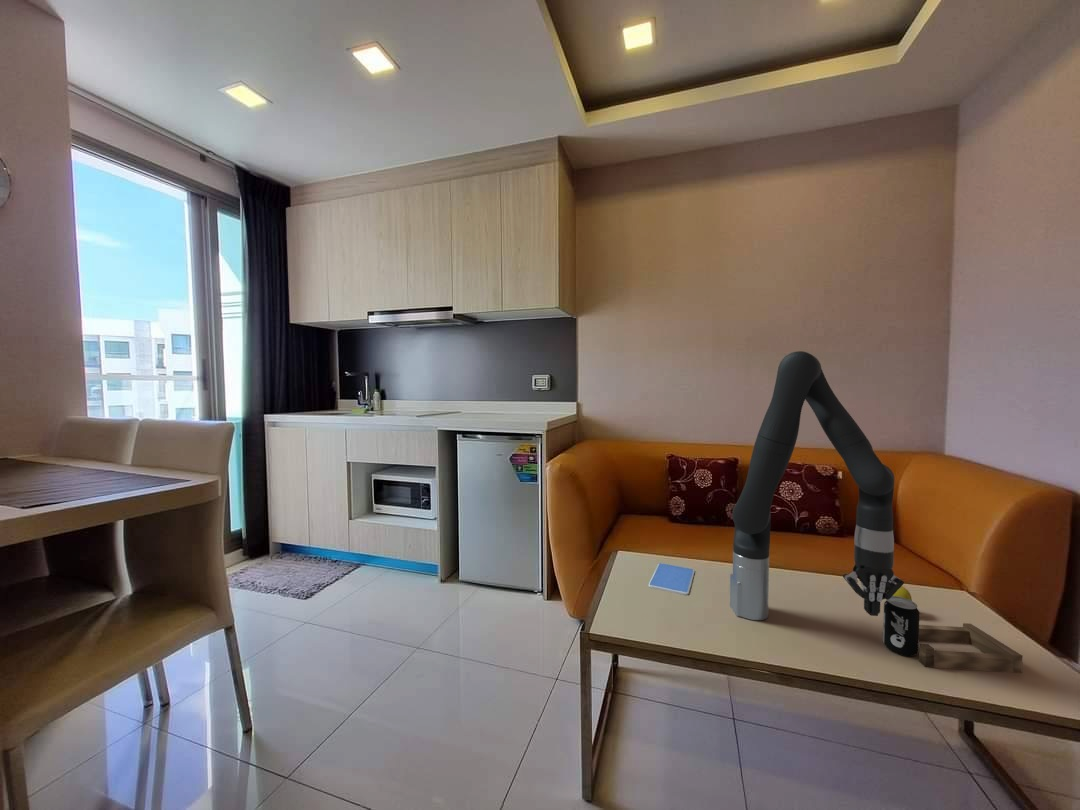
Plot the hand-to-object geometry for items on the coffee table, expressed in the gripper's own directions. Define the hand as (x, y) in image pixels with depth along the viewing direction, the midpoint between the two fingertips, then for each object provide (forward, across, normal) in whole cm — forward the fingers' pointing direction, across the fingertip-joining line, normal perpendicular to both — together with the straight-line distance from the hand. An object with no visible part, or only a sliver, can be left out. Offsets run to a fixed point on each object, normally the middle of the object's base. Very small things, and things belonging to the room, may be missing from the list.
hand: (872, 614), depth 102 cm
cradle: (+9, +17, 0) cm, 19 cm away
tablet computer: (+9, -41, +33) cm, 54 cm away
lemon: (+9, +19, +18) cm, 28 cm away
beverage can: (+9, +7, 0) cm, 11 cm away
